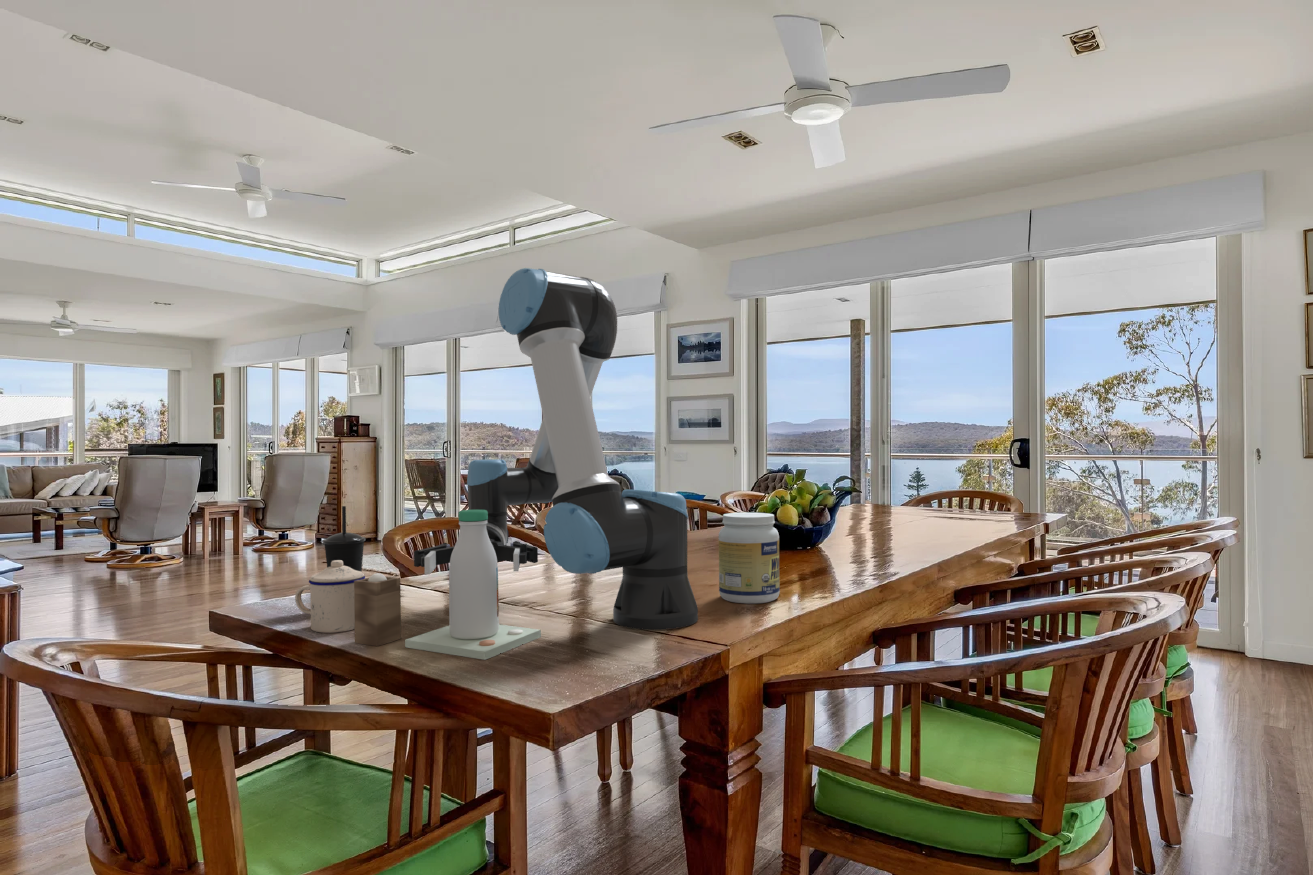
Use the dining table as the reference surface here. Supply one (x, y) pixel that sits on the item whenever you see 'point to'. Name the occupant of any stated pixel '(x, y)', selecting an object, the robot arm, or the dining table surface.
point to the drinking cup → (345, 547)
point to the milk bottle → (473, 580)
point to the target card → (473, 642)
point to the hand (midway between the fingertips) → (471, 564)
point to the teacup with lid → (331, 598)
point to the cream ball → (377, 577)
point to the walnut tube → (377, 611)
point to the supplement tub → (749, 558)
